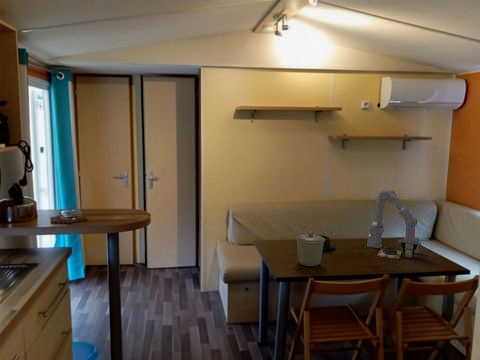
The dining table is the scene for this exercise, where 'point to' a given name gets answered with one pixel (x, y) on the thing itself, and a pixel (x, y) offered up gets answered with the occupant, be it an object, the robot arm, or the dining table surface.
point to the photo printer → (412, 244)
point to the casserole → (327, 243)
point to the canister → (309, 249)
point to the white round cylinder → (408, 252)
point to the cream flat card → (389, 253)
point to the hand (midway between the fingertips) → (408, 254)
